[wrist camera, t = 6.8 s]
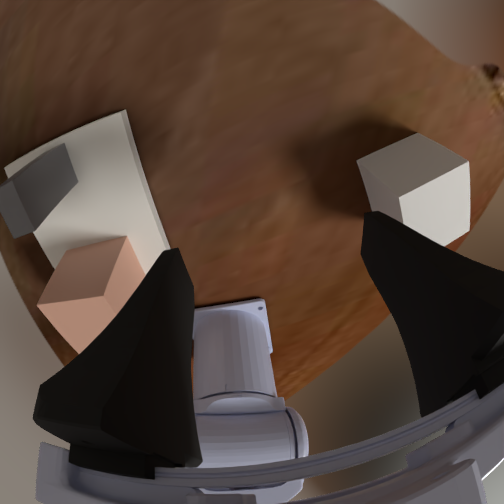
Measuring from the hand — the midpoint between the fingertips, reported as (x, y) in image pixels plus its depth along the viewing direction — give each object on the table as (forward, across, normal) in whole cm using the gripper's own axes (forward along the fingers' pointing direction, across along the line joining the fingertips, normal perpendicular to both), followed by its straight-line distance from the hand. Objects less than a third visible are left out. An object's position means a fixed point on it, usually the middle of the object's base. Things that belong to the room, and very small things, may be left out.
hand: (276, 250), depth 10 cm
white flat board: (+9, +13, +2) cm, 16 cm away
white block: (+10, -11, +3) cm, 15 cm away
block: (+8, +13, +6) cm, 16 cm away
